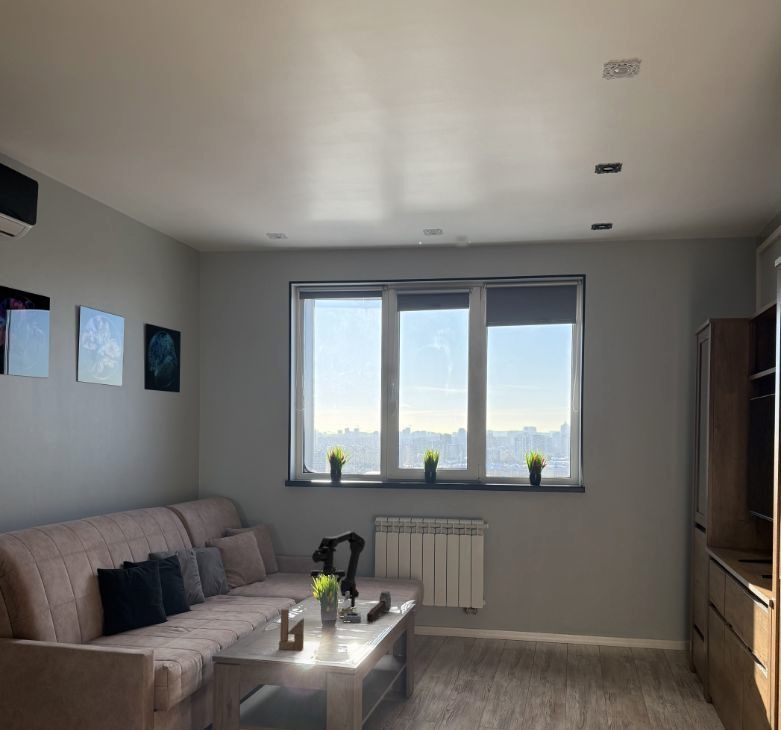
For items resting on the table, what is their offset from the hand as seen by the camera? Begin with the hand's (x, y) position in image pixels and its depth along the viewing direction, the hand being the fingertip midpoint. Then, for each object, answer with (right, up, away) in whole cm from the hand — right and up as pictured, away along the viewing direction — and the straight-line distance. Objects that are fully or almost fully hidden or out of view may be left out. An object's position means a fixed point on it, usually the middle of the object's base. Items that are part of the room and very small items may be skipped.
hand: (327, 589), depth 438 cm
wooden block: (-11, -7, -72) cm, 73 cm away
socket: (+14, -12, -16) cm, 24 cm away
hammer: (+28, -13, -6) cm, 31 cm away
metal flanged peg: (+11, -13, -6) cm, 18 cm away
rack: (+11, -13, -6) cm, 18 cm away
